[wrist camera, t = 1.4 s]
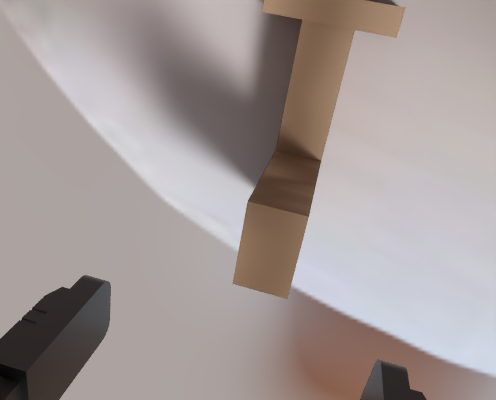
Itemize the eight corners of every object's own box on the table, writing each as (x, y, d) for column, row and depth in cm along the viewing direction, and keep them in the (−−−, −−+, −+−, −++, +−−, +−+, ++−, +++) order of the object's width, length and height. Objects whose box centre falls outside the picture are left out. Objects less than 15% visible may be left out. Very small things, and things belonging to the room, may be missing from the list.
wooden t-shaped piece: (399, 7, 21) (426, 9, 13) (337, 215, 26) (329, 310, 18) (278, -16, 21) (231, -27, 13) (241, 191, 27) (193, 272, 19)
